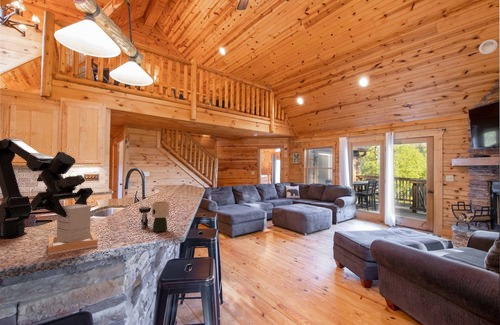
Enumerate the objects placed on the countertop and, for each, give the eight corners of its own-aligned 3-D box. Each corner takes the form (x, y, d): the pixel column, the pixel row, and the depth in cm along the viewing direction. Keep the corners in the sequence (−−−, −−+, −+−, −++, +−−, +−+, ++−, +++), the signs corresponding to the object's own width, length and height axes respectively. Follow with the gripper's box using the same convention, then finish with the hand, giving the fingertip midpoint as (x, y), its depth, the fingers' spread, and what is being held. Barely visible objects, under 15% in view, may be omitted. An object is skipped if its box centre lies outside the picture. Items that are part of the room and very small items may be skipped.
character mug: (151, 228, 105) (152, 201, 106) (167, 227, 108) (168, 200, 108) (151, 235, 95) (152, 204, 96) (169, 233, 98) (170, 204, 98)
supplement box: (77, 235, 87) (78, 203, 87) (90, 238, 85) (91, 205, 85) (55, 241, 80) (56, 206, 80) (69, 245, 78) (70, 208, 78)
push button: (149, 229, 104) (150, 207, 105) (136, 229, 103) (137, 208, 103) (150, 225, 111) (151, 205, 111) (139, 226, 109) (139, 205, 109)
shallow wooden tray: (48, 255, 73) (48, 247, 73) (48, 243, 83) (49, 237, 83) (97, 246, 82) (97, 239, 82) (92, 236, 92) (93, 230, 92)
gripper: (38, 168, 75) (62, 203, 72) (91, 168, 93) (111, 196, 90) (20, 190, 76) (43, 226, 74) (75, 186, 94) (94, 214, 92)
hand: (76, 214), depth 82 cm, fingers closed on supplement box, 7 cm apart
